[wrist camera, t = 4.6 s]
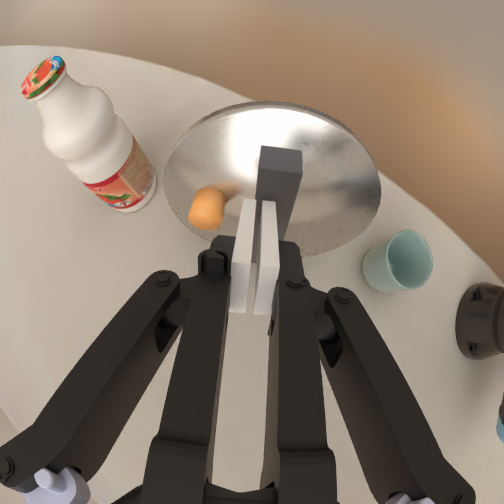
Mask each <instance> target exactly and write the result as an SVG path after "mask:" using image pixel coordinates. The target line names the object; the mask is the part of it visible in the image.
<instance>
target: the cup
mask: <svg viewBox="0 0 504 504" xmlns="http://www.w3.org/2000/svg"><path fill="white" fill-rule="evenodd" d="M432 268H433V259H432V254H431V251H430V248H429V246H428V244H427V242H426V241H425V239H424V238H423V237H422V236H421V235H420V234H418V233H417V232H415V231H412V230H403V231H400V232H397V233H395V234H393V235H391V236H389V237H387V238H385V239H384V240H382V241H380V242H379V243H377V244H376V245H375V246H373V247H372V248H371V249H370V250H369V251H368V252H367V254H366V255H365V257H364V260H363V264H362V270H363V275H364V277H365V280H366V281H367V283H368V284H369V286H371V287H372V288H373V289H374V290H376V291H379V292H382V293H399V292H406V291H411V290H415V289H417V288H419V287H421V286H422V285H424V284H425V283H426V282H427V280H428V279H429V277H430V275H431V272H432Z"/></svg>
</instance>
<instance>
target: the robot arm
mask: <svg viewBox="0 0 504 504" xmlns="http://www.w3.org/2000/svg"><path fill="white" fill-rule="evenodd" d="M255 210H256V200H255V199H246V198H244V199H243V204H242V209H241V215H240V220H239V225H238V230H237V235H236V236H226V235H217V236H216V237H215V238H214V239H213V240H212V243H211V246H210V249H208V250H204V251H203V252H201V253H200V254H199V256H198V275H196V276H194V277H190V278H183V279H179V276H178V275H177V274H176V273H174V272H172V271H168V270H161V271H157V272H154V273H153V274H151V275H150V276H149V277H148V278H147V279H146V280H145V282H144V283H143V284H142V285H141V286H140V287H139V288H138V289H137V291H136V292H135V293H134V294H133V295H132V296H131V298H130V299H129V300H128V301H127V302H126V303H125V304H124V306H123V307H122V308H121V309H120V310H119V312H118V313H117V314H116V315H115V316H114V317H113V319H112V320H111V321H110V322H109V323H108V325H107V326H106V327H105V328H104V330H103V331H102V332H101V333H100V334H99V336H98V337H97V338H96V339H95V341H94V342H93V343H92V344H91V346H90V347H89V348H88V349H87V351H86V352H85V353H84V355H83V356H82V357H81V358H80V360H79V361H78V362H77V364H76V365H75V366H74V368H73V369H72V370H71V371H70V373H69V374H68V375H67V377H66V378H65V379H64V381H63V382H62V384H61V385H60V386H59V388H58V389H57V390H56V392H55V393H54V395H53V396H52V397H51V399H50V400H49V402H48V403H47V404H46V406H45V407H44V409H43V410H42V412H41V413H40V415H39V416H38V417H37V419H36V420H35V422H34V423H33V425H31V426H30V427H28V428H27V429H26V430H24V431H23V432H21V433H20V434H18V435H17V436H16V437H14V438H13V439H12V440H10V441H8V442H7V443H6V444H4V445H3V446H1V447H0V483H2V484H3V485H4V486H6V487H8V488H11V489H13V490H16V491H18V492H20V493H21V495H22V497H23V498H24V500H25V501H26V503H27V504H87V502H88V501H89V499H90V496H91V495H90V490H89V487H88V485H87V482H88V481H89V480H90V479H91V478H92V477H93V476H94V475H95V474H96V473H97V471H98V470H99V469H100V467H101V466H102V464H103V463H104V461H105V459H106V458H107V456H108V454H109V452H110V451H111V449H112V447H113V445H114V444H115V442H116V440H117V438H118V437H119V435H120V433H121V431H122V430H123V428H124V426H125V424H126V423H127V421H128V419H129V418H130V416H131V414H132V412H133V411H134V409H135V407H136V406H137V404H138V402H139V400H140V399H141V397H142V395H143V394H144V392H145V390H146V389H147V387H148V385H149V383H150V382H151V380H152V378H153V377H154V375H155V373H156V372H157V370H158V368H159V367H160V365H161V363H162V362H163V360H164V358H165V357H166V355H167V353H168V352H169V350H170V348H171V347H172V345H173V343H174V342H175V340H176V339H177V337H178V335H179V334H180V332H181V330H182V329H183V330H182V334H181V338H180V342H179V346H178V350H177V354H176V358H175V362H174V366H173V370H172V374H171V378H170V383H169V387H168V391H167V396H166V400H165V405H164V409H163V414H162V418H161V423H160V428H159V431H158V434H157V435H156V436H155V437H154V438H153V440H152V442H151V445H150V448H149V453H148V458H147V463H146V469H145V474H144V480H143V484H142V485H140V486H138V487H136V488H134V489H133V490H131V491H130V492H128V493H127V494H125V495H124V496H122V497H121V498H119V499H118V500H116V501H115V502H113V503H111V504H340V503H339V502H337V479H336V462H335V456H334V453H333V451H332V450H331V449H330V448H328V445H327V435H326V421H325V408H324V396H323V385H322V375H321V365H320V360H321V362H322V365H323V367H324V370H325V372H326V375H327V377H328V380H329V382H330V385H331V388H332V390H333V393H334V395H335V398H336V400H337V403H338V406H339V408H340V411H341V413H342V416H343V419H344V421H345V424H346V427H347V429H348V432H349V435H350V437H351V440H352V443H353V445H354V448H355V451H356V453H357V456H358V459H359V462H360V464H361V467H362V470H363V473H364V475H365V478H366V481H367V483H368V486H369V488H370V490H371V493H372V494H373V496H374V498H375V499H376V501H377V502H378V504H475V501H476V495H475V491H474V489H473V488H472V487H471V486H470V484H469V483H468V482H467V481H466V480H465V479H464V478H463V477H462V476H461V475H460V474H459V473H458V472H457V471H456V470H455V469H454V468H453V467H452V466H451V465H450V464H449V463H448V462H447V461H446V460H445V459H444V457H443V455H442V453H441V450H440V448H439V446H438V444H437V441H436V439H435V437H434V435H433V433H432V431H431V429H430V427H429V425H428V422H427V420H426V418H425V416H424V414H423V412H422V410H421V408H420V406H419V404H418V402H417V400H416V399H415V397H414V395H413V393H412V391H411V389H410V387H409V385H408V383H407V381H406V380H405V378H404V376H403V374H402V372H401V370H400V369H399V367H398V365H397V363H396V361H395V360H394V358H393V356H392V354H391V353H390V351H389V349H388V347H387V346H386V344H385V342H384V340H383V339H382V337H381V335H380V334H379V332H378V330H377V329H376V327H375V325H374V324H373V322H372V320H371V319H370V317H369V315H368V314H367V312H366V310H365V309H364V307H363V306H362V304H361V302H360V301H359V299H358V298H357V296H356V295H355V294H354V293H353V292H352V291H350V290H349V289H346V288H343V287H335V288H332V289H330V290H329V292H328V293H325V292H322V291H319V290H316V289H314V288H313V287H311V286H310V283H309V281H308V279H307V278H305V276H304V270H303V264H302V260H301V253H300V248H299V247H298V245H297V244H296V243H295V242H289V241H280V240H278V231H277V217H276V203H275V202H273V201H265V200H263V202H262V210H261V218H260V227H259V235H258V247H257V265H256V282H255V299H254V314H258V315H269V316H270V315H271V310H272V316H271V321H270V325H269V330H268V335H269V361H268V385H267V407H266V427H265V445H264V461H263V469H262V473H261V480H260V490H255V491H249V492H243V493H239V492H235V491H231V490H228V489H225V488H222V487H219V486H216V485H213V484H212V471H213V455H214V444H215V434H216V424H217V414H218V405H219V395H220V386H221V377H222V368H223V359H224V350H225V342H226V333H227V325H228V312H238V313H245V312H246V303H247V294H248V285H249V277H250V268H251V257H252V246H253V234H254V222H255ZM456 338H457V342H458V346H459V348H460V350H461V352H462V353H463V355H464V356H466V357H467V358H470V359H476V360H481V359H485V358H488V357H491V356H494V355H497V354H499V353H504V287H501V286H497V285H494V284H491V283H479V284H475V285H473V286H471V287H470V288H469V289H468V290H467V291H466V293H465V294H464V296H463V298H462V300H461V302H460V305H459V308H458V312H457V318H456ZM498 416H499V417H498V421H497V426H496V429H497V435H498V437H499V439H500V440H501V441H502V442H503V443H504V393H503V398H502V403H501V405H500V408H499V415H498Z"/></svg>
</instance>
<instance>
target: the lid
mask: <svg viewBox="0 0 504 504" xmlns="http://www.w3.org/2000/svg"><path fill="white" fill-rule="evenodd" d="M164 190H165V195H166V198H167V200H168V203H169V205H170V207H171V209H172V210H173V212H174V213H175V215H176V216H177V217H178V218H179V220H180V221H181V222H182V223H183V224H184V225H185V226H187V227H188V228H189V229H190V230H191V231H193V232H194V233H196V234H197V235H199V236H200V237H202V238H203V239H205V240H207V241H209V242H211V243H212V240H213V239H214V238H215V237H216V236H217V235H226V236H236V235H237V230H238V225H239V220H240V215H241V209H242V204H243V199H244V198H246V199H255V200H256V210H255V222H254V234H253V246H252V257H251V263H257V247H258V235H259V227H260V218H261V210H262V202H263V200H265V201H273V202H275V203H276V217H277V231H278V240H280V241H289V242H295V243H296V244H297V245H298V247H299V248H300V253H301V257H305V256H311V255H316V254H320V253H323V252H327V251H330V250H332V249H335V248H337V247H340V246H342V245H344V244H346V243H347V242H349V241H351V240H352V239H354V238H355V237H357V236H358V235H359V234H360V233H361V232H363V231H364V230H365V229H366V228H367V226H368V225H369V224H370V223H371V221H372V220H373V218H374V216H375V215H376V213H377V210H378V207H379V204H380V198H381V184H380V180H379V176H378V172H377V169H376V165H375V162H374V160H373V157H372V156H371V153H370V152H369V150H368V148H367V147H366V145H365V144H364V143H363V141H362V140H361V139H360V138H359V137H358V136H357V135H356V134H355V133H354V132H353V131H352V130H351V129H349V128H348V127H347V126H346V125H344V124H343V123H341V122H340V121H339V120H337V119H335V118H333V117H331V116H329V115H327V114H325V113H324V112H321V111H318V110H316V109H313V108H310V107H307V106H303V105H298V104H294V103H289V102H279V101H256V102H247V103H242V104H236V105H232V106H229V107H226V108H223V109H220V110H217V111H215V112H213V113H211V114H209V115H207V116H205V117H203V118H202V119H201V120H199V121H198V122H196V123H195V124H194V125H192V126H191V127H190V128H189V129H188V130H187V131H186V132H185V133H184V134H183V135H182V136H181V138H180V139H179V141H178V142H177V144H176V145H175V147H174V149H173V152H172V154H171V156H170V158H169V161H168V163H167V165H166V168H165V173H164Z"/></svg>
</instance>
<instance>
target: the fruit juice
mask: <svg viewBox="0 0 504 504" xmlns="http://www.w3.org/2000/svg"><path fill="white" fill-rule="evenodd" d="M66 71H67V67H66V65H65V62H64V61H63V60H62V58H61V57H59V56H53V57H50V58H48V59H46V60H44V61H43V62H41V63H40V64H39V65H38V66H36V67H35V68H34V69H33V70H32V71H31V72H30V73H29V74H28V76H27V77H26V78H25V80H24V82H23V84H22V86H21V92H22V94H23V95H24V97H25V98H26V99H28V101H31V102H34V103H35V104H36V106H37V108H38V110H39V112H40V115H41V118H42V139H43V142H44V145H45V147H46V148H47V150H48V151H49V152H50V153H51V154H52V155H53V156H55V157H56V158H59V159H61V160H64V162H65V165H66V167H67V168H68V170H69V171H70V172H71V173H72V174H73V175H74V176H75V177H76V178H77V179H78V180H79V181H81V182H82V183H83V184H84V185H85V186H87V187H88V188H89V189H90V190H91V191H92V192H94V193H95V194H96V195H97V196H98V197H100V198H101V199H102V200H103V201H104V202H106V203H107V204H108V205H109V206H110V207H112V208H113V209H115V210H117V211H119V212H125V213H128V212H133V211H136V210H138V209H140V208H142V207H143V206H145V205H146V204H147V203H148V202H149V200H150V199H151V198H152V196H153V194H154V192H155V189H156V175H155V172H154V170H153V168H152V166H151V165H150V163H149V161H148V160H147V158H146V156H145V155H144V153H143V152H142V150H141V148H140V147H139V145H138V143H137V142H136V140H135V138H134V137H133V135H132V133H131V131H130V129H129V128H128V126H127V125H126V124H125V122H124V121H123V120H122V119H121V118H120V117H119V116H118V115H116V114H115V113H114V107H113V104H112V101H111V99H110V98H109V97H108V95H107V94H106V93H105V92H104V91H103V90H101V89H100V88H97V87H94V86H88V85H82V84H80V83H78V82H76V81H75V80H74V79H72V78H71V77H70V76H69V75H68V74H67V72H66Z"/></svg>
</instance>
